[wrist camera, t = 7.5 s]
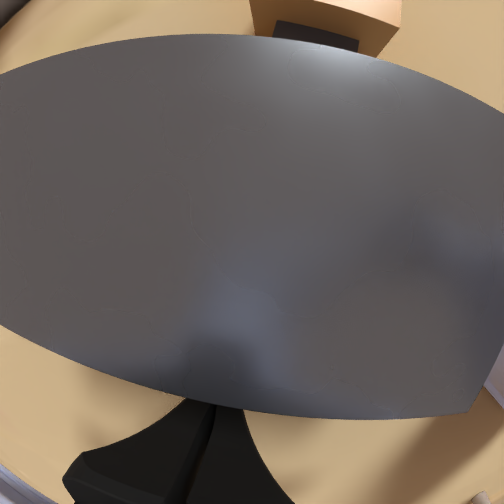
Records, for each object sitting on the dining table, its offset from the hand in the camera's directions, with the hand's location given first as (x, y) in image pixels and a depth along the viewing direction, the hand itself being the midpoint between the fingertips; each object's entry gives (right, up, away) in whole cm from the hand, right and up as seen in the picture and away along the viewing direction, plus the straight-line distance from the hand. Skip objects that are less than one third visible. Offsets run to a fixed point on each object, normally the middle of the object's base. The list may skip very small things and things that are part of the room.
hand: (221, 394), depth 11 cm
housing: (+1, +7, -1) cm, 8 cm away
